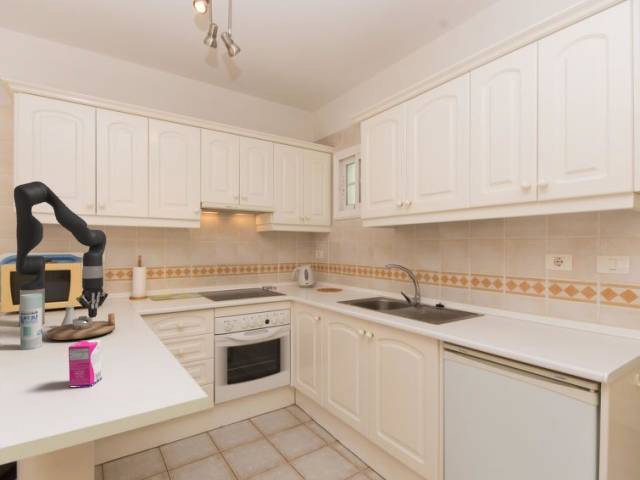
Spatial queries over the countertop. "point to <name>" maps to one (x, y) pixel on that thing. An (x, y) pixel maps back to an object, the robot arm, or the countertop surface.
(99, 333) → the turntable
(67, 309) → the flask
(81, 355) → the supplement box
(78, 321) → the cover
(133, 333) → the countertop surface
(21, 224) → the robot arm
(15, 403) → the countertop surface
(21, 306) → the spray paint can
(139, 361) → the countertop surface
